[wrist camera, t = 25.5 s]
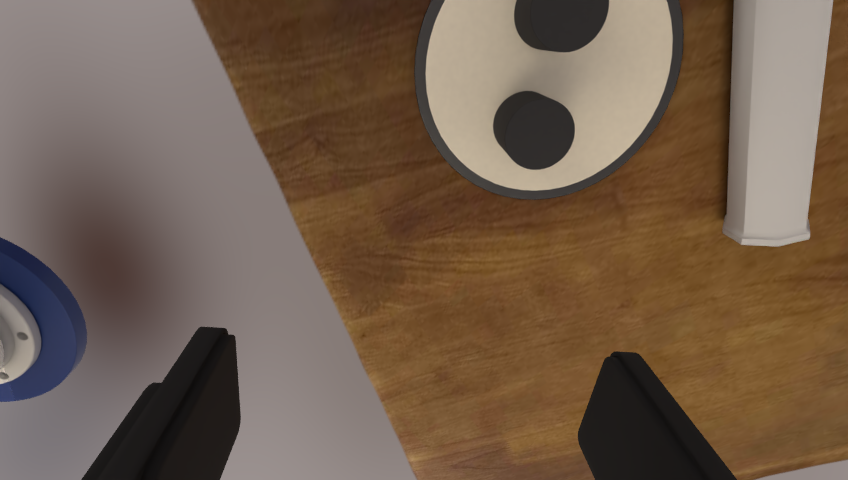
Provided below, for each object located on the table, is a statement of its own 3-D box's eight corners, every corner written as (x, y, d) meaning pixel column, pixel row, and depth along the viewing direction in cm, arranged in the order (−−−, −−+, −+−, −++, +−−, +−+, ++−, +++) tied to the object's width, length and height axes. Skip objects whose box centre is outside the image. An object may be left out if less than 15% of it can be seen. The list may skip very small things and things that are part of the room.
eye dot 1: (507, 45, 29) (522, 47, 25) (522, -34, 27) (540, -44, 23) (572, 54, 29) (596, 57, 25) (591, -23, 27) (620, -31, 24)
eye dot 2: (487, 150, 32) (498, 166, 28) (499, 86, 30) (512, 94, 26) (546, 157, 32) (564, 173, 28) (562, 95, 30) (584, 103, 26)
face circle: (401, 183, 33) (401, 186, 32) (433, -113, 25) (434, -116, 25) (628, 208, 35) (632, 211, 34) (722, -63, 27) (729, -65, 27)
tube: (751, -192, 21) (733, 250, 32) (895, -247, 20) (826, 243, 30) (719, -161, 26) (712, 218, 36) (833, -202, 24) (792, 210, 34)
